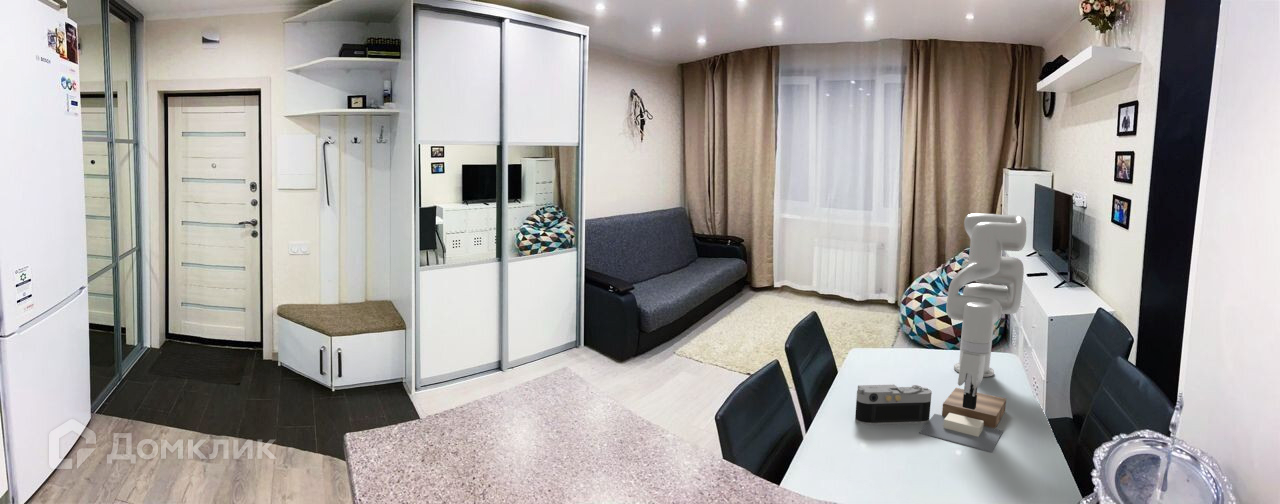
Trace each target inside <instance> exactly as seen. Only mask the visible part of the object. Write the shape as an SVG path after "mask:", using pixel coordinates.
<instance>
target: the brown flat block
mask: <svg viewBox="0 0 1280 504" xmlns="http://www.w3.org/2000/svg"><path fill="white" fill-rule="evenodd" d="M975 395H977V402H976V408H975V409H974V410H972V409H968V408H964V407H963V396H964V389H963V388H959V387H955V388H954V389H953V390H952V392H951V393H950V395H949V396H948V397H946V399H945V400H944V401H943V403H942V408H941V409H942V410H941V415H942V416H947V415H948V414H949V413H953V414H957V415H961V416H965V417H969V418H974V419H978V420H982V421H984V425H983V426H987V427H991V428H995V429H997V427H998V424H999V423H1000V421H1001V419H1002V417H1003V416H1004V414H1005V412H1006V407H1007V406H1006V405H1007V398H1005V397H1001V396H995V395H991V394H987V393H981V392H978V391H977V394H975Z"/></svg>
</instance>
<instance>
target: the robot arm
mask: <svg viewBox="0 0 1280 504" xmlns="http://www.w3.org/2000/svg"><path fill="white" fill-rule="evenodd" d="M963 226H964V230H965V232H966V234H967V235H968V237H969V240H970V243H969V244H970V245H969V254H968V261H967V265H966V266H965V267H964V268H962V269H961V270H959V272H957V273H956V274H955V275H954V277H953V278H952V279H951V281H950V283H949V286H948V291H947V299H946V305H945V306H946V308H945V309H946V314H947V316H948V318H949V319H952V320H954V321H962V324H961V325H962V326H961V335H960V336H961V337H960V347H959V351H960V352H959V360H958V362H956V363H954V365H953V369H954V370H955V372H957V373H958V379H957V386H959V387H960V386H963V384H964V396H963V407H964V408H968V409H972V410H974V409H975V408H976V402H977V395H975V394H977V392H978V388H979V386H980V384H981V383H982V382H983V379H984V378H989V377H993V376H994V374H995V371H994V369H993V368H992V367H990V366H991V365H990V364H991V354H992V347H993V346H992V345H993V343H992V342H993V334H994V328H995V327H994V324H996V323H997V322H998V321H999V320H1000V319H1001V317H1002V314H1003V315H1004V314H1006V315H1015V314H1017V313H1018V312H1019V310H1020V306H1021V302H1022V291H1023V286H1024V285H1023V283H1024V275H1025V274H1024V271H1025V270H1024V264H1023V262H1022V260H1021V259H1020V258H1017V257H1015V256H1014V257H1013V256H1002V251H1007V252H1009V251H1010V252H1020V251H1022V250H1023V249H1024V248H1025V245H1026V242H1027V222H1026V220H1025V218H1024V217H1023V216H1021V215H1014V214H996V213H983V212H982V213H979V212H975V213H974V212H973V213H970V214H969V213H968V214H967V215H966V216H965V217H964V220H963ZM966 284H967V285H966ZM963 286H965V287H964V288H963V291H962V294H959V291H960V289H961V288H962V287H963Z"/></svg>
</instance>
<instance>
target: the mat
mask: <svg viewBox="0 0 1280 504" xmlns="http://www.w3.org/2000/svg"><path fill="white" fill-rule="evenodd" d="M945 418H946V416H942V414H937V413H934V414H932V416H931V418H929V421H928V422H927V423H925V425H924V426H923V427H922V429H921V430H920V431H919V432H918V434H920V435H925V436H929V437H932V438H936V439H940V440H943V441H946V442H947V441H948V442H951V443H955V444H959V445H962V446H967V447H969V448H973V449H977V450H980V451H984V452H989V453H992V452H993V450H994V449H995V448H996V445H997V444H998V441H999V439H1000V438H1001V435H1002V434H1003V431H1004V430H1003V429H998V428H991V427H987V426H983V430H982V432H981V434H980V435H979V437H977V436H973V435H969V434H965V433H962V432H958V431H954V430H950V429H946V428H943V426H944V419H945Z"/></svg>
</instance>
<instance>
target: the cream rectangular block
mask: <svg viewBox="0 0 1280 504" xmlns="http://www.w3.org/2000/svg"><path fill="white" fill-rule="evenodd" d="M983 425H984V421H982V420H978V419H974V418H969V417H965V416H961V415H957V414H953V413H949V414H948V415H947V416H946V418H945V419H944V426H943V428H946V429H950V430H954V431H958V432H962V433H965V434H969V435H973V436H977V437H979V435H980V434H981V432H982V430H983Z"/></svg>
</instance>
